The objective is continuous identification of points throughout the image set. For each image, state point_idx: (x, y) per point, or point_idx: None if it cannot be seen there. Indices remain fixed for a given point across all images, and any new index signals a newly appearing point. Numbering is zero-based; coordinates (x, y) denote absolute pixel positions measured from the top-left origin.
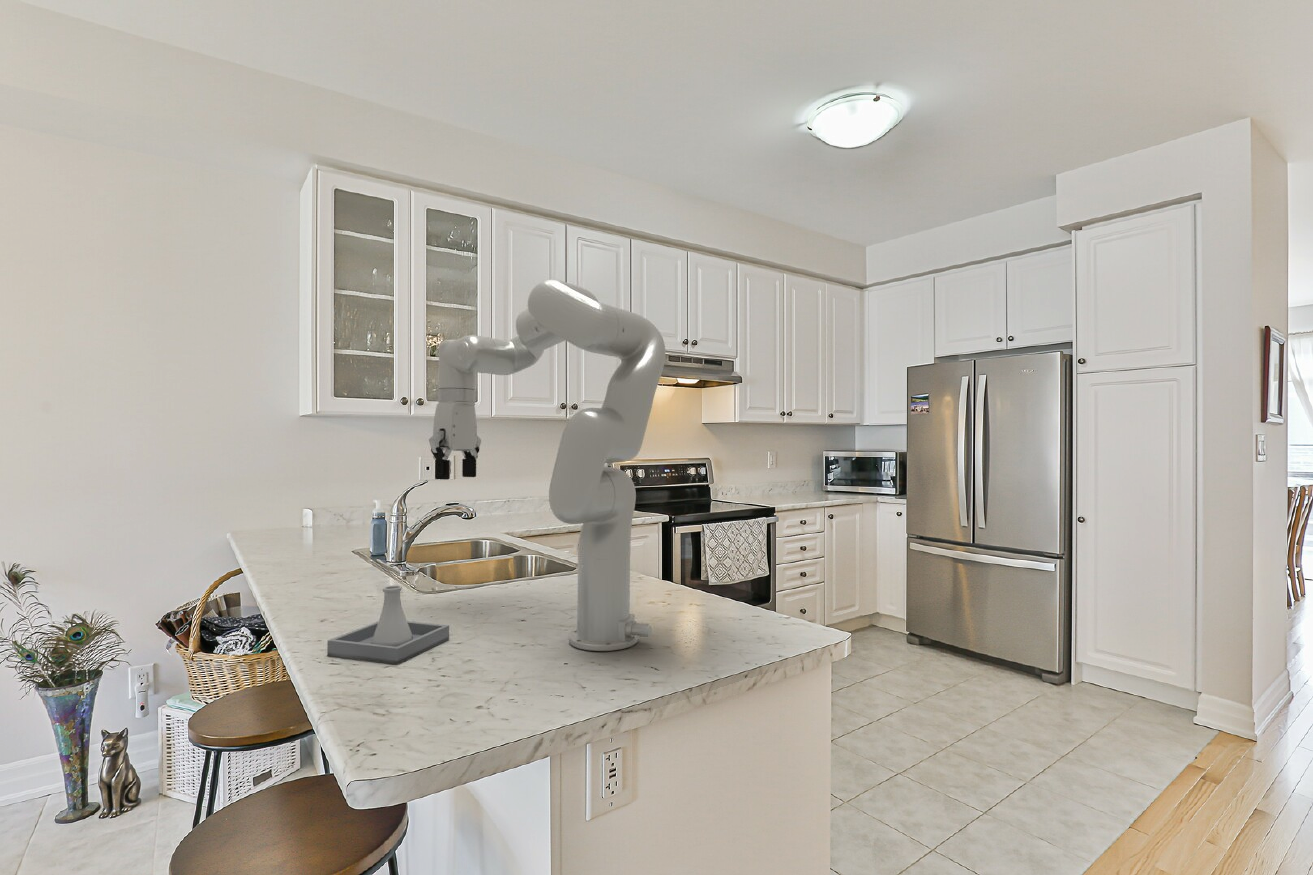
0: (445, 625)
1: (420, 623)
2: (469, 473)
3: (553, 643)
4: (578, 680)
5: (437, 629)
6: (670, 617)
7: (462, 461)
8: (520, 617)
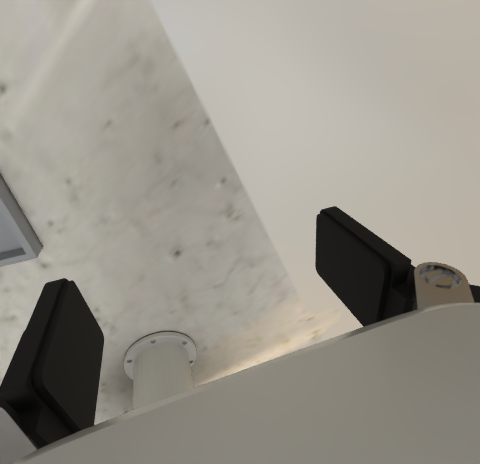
0: (32, 253)
1: (5, 217)
2: (324, 259)
3: (124, 333)
4: None
5: (9, 260)
6: (263, 346)
7: (375, 259)
8: (186, 241)
